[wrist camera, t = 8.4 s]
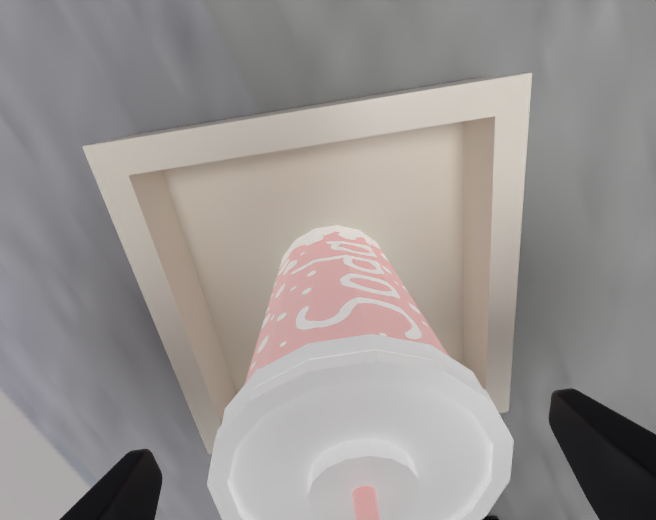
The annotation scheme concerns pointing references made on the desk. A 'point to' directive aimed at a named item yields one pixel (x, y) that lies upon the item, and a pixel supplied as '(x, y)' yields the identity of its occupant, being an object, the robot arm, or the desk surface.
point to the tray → (326, 220)
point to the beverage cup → (355, 403)
